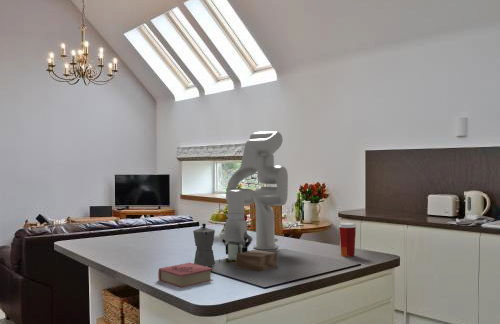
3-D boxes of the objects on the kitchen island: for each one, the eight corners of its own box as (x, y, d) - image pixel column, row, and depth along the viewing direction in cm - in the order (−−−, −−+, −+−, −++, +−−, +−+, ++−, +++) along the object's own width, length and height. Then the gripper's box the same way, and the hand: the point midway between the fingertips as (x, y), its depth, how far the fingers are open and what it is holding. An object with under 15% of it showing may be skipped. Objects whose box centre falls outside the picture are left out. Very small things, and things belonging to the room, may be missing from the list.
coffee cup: (357, 254, 221) (357, 222, 221) (355, 257, 213) (355, 224, 213) (339, 253, 224) (339, 222, 224) (337, 256, 216) (336, 224, 216)
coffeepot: (217, 267, 196) (217, 224, 196) (195, 269, 193) (194, 225, 194) (212, 260, 211) (211, 220, 211) (191, 261, 208) (191, 221, 209)
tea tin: (235, 258, 216) (234, 240, 216) (244, 259, 213) (244, 241, 213) (228, 260, 211) (228, 242, 211) (238, 261, 208) (237, 243, 208)
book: (188, 274, 185) (188, 262, 185) (212, 281, 174) (212, 268, 174) (157, 281, 175) (157, 268, 175) (181, 289, 164) (180, 274, 164)
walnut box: (254, 263, 205) (254, 249, 205) (276, 266, 198) (276, 252, 198) (236, 268, 196) (236, 253, 196) (259, 272, 188) (259, 257, 188)
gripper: (215, 216, 214) (216, 254, 214) (247, 218, 204) (247, 258, 204) (225, 215, 220) (225, 251, 220) (256, 217, 211) (256, 255, 210)
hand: (236, 254), depth 212 cm, fingers open, 8 cm apart
